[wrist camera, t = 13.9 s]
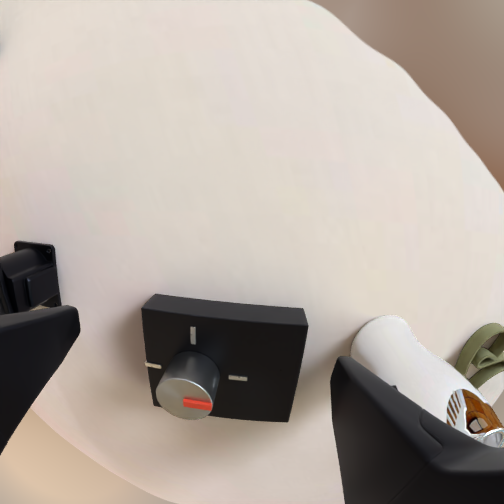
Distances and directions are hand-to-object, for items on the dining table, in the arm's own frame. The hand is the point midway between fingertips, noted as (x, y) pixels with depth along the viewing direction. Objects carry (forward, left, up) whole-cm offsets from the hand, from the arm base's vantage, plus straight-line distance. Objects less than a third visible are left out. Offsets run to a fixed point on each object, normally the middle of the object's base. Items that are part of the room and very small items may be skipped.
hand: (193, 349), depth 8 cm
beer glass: (+13, -7, -13) cm, 20 cm away
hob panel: (0, -9, -13) cm, 16 cm away
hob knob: (-2, -9, -10) cm, 13 cm away
